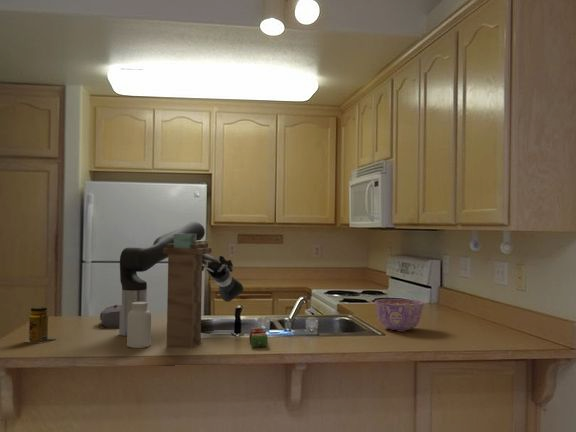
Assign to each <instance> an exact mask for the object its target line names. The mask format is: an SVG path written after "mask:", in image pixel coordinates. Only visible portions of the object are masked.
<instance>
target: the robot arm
mask: <svg viewBox="0 0 576 432" xmlns="http://www.w3.org/2000/svg"><path fill="white" fill-rule="evenodd" d="M174 234H197V237H196V241H197V240H203V238H204V236H205V234H206V231H205V227H204V226H203V225H202V224H201V223H200V222H198V221H190V222H188V223H187V224H186V225H184V226H182V227H181V228H179V229H176V230H173V231H170V232H169V233H165V234H163V235H161V236H159V237H157V238H156V239H155V240H154V241H153V244H152V245H151V246H148V247H125V248H124V249H123V250H122V251H121V253H120V258H119V278H120V279H119V281H120V285H121V305H122V309H120V322H119V330H118V333H119V334H120V335H121V336H123V337H127V322H128V313H129V312H130V311H131V310H133V309H132V303H133V302H147V303H148V301H147V299H148V298H147V297H148V296H147V295H148V291H147V290H148V289H147V288H148V285H147V281H145V280H143V279H141V278H140V277H139V276H138V274H137V273H144V272H146V271H148V270H150V269H151V268H152V267H154V266H155V265H156V264H158V263H159V262H161V261H164V260H166V259H168V254H163V248H167V244H173V243H174ZM204 270H206V271H207V273H208V274H209V275H210V277H211V278H212V280H213V281H214V282H215V283H216V284H217V286H218V290H219V295H220V297H221V299H222V300H223V301H224V302H228V303H229V302H231V301H233V300H234V299H236V298H237V297H238V296H239V295H241V294H242V293H243V292H244V286H243V285H242V283H241V282H240V281H239V280H238V279H236V278H234V276H232V272H233V270H234V264H233V261H232V260H231V259H228V260H227V259H226V258H225V257H224V256H223V255H222V254H221V255H219V258H216V257H214V256H213V255H210V254H202V272H204Z"/></svg>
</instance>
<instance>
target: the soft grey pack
mask: <svg viewBox="0 0 576 432" xmlns="http://www.w3.org/2000/svg"><path fill="white" fill-rule="evenodd" d="M120 309H122V304H113V305H111V306H108V307H105V309H103V310H101V312H100V315H99V318H100V320H101V324H102V325H103V326H104V327H105V328H112V329H114V328H116V329H117V328H119V322H120Z"/></svg>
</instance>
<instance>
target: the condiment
mask: <svg viewBox="0 0 576 432" xmlns="http://www.w3.org/2000/svg"><path fill="white" fill-rule="evenodd" d="M28 319H29V320H28V321H29V331H28V340H25V341H24V340H23V342H25V343H30V344H42V343H47V342H49V341H53V340H55V338H53V337H51V338H50V337H48V335H49V333H48V331H49V315H48V307H47V306H35V307H33V306H32V307H31V308H30V315H29V318H28Z"/></svg>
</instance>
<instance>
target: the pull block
mask: <svg viewBox="0 0 576 432" xmlns="http://www.w3.org/2000/svg"><path fill="white" fill-rule="evenodd" d="M196 237H197V234H174V248H186V249H191V248H192V244H205V243H206V244H208V245H209V240H207V239H201V240H197V241H196Z"/></svg>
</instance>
